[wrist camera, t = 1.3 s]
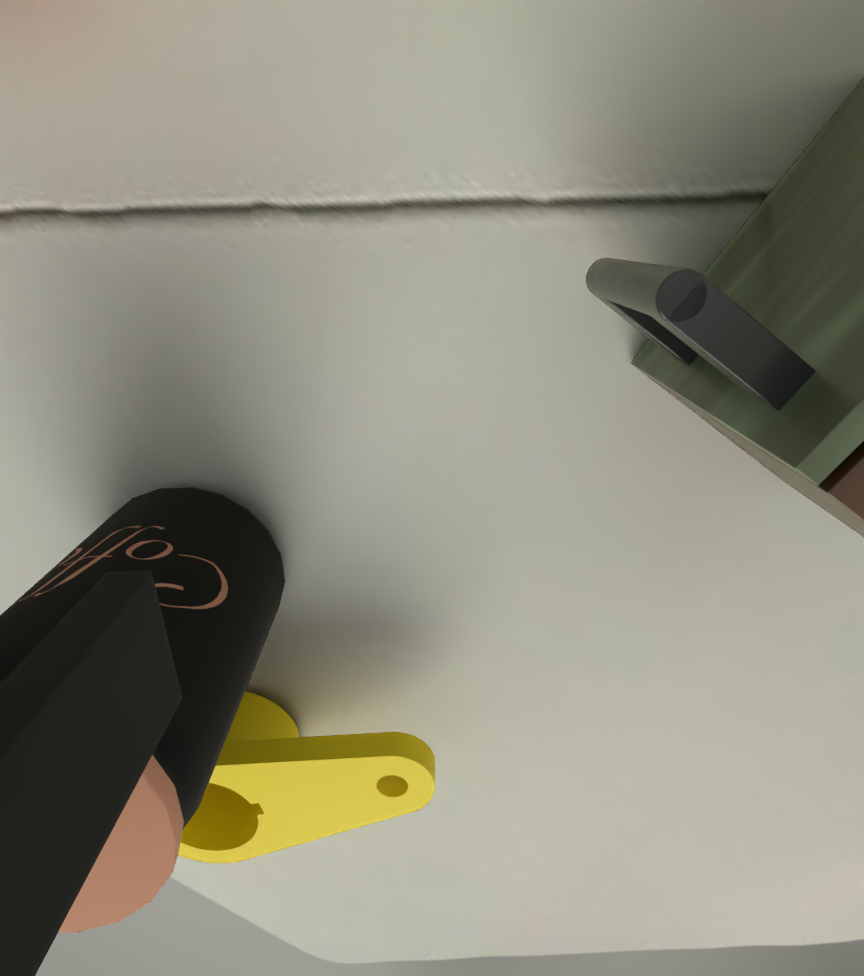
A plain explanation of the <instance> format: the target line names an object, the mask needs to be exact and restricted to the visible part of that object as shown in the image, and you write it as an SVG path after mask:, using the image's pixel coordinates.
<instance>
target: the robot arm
mask: <svg viewBox="0 0 864 976" xmlns="http://www.w3.org/2000/svg"><path fill="white" fill-rule="evenodd" d="M181 700H182V694H181V690H180V686H179V682H178V678H177V674H176V669H175V665H174V661H173V657H172V653H171V649H170V645H169V641H168V636H167V632H166V628H165V624H164V620H163V616H162V612H161V608H160V604H159V599H158V595H157V591H156V587H155V583H154V579H153V575H152V571H151V570H146V571H117V572H106V573H105V574H104V575H103V576H102V578H101V579H100V580H99V581H98V582H97V583H96V584H95V585H94V586H93V587H92V588H91V589H90V590H89V591H88V592H87V593H86V594H85V595H84V596H83V597H82V598H81V600H80V601H79V602H78V603H77V604H76V605H75V606H74V607H73V608H72V609H71V610H70V611H69V612H68V613H67V614H66V615H65V616H64V617H63V618H62V619H61V620H60V622H59V623H58V624H57V625H56V626H55V627H54V628H53V629H52V630H51V631H50V632H49V633H48V634H47V635H46V636H45V637H44V638H43V639H42V640H41V641H40V642H39V644H38V645H37V646H36V647H35V648H34V649H33V650H32V651H31V652H30V653H29V654H28V655H27V656H26V657H25V658H24V659H23V660H22V661H21V662H20V663H19V664H18V666H17V667H16V668H15V669H14V670H13V671H12V672H11V673H10V674H9V675H8V676H7V677H6V678H5V679H4V680H3V681H2V682H1V683H0V976H35V974H36V973H37V971H38V969H39V967H40V965H41V963H42V961H43V959H44V957H45V956H46V954H47V952H48V950H49V948H50V946H51V944H52V942H53V940H54V939H55V937H56V935H57V933H58V931H59V929H60V927H61V926H62V924H63V922H64V920H65V918H66V916H67V914H68V912H69V911H70V909H71V907H72V905H73V903H74V901H75V899H76V897H77V896H78V894H79V892H80V890H81V888H82V886H83V884H84V882H85V881H86V879H87V877H88V875H89V873H90V871H91V869H92V867H93V865H94V864H95V862H96V860H97V858H98V856H99V854H100V852H101V850H102V849H103V847H104V845H105V843H106V841H107V839H108V837H109V835H110V834H111V832H112V830H113V828H114V826H115V824H116V822H117V820H118V818H119V817H120V815H121V813H122V811H123V809H124V807H125V805H126V803H127V802H128V800H129V798H130V796H131V794H132V792H133V790H134V788H135V787H136V785H137V783H138V781H139V779H140V777H141V775H142V773H143V772H144V770H145V768H146V766H147V764H148V762H149V760H150V758H151V756H152V755H153V753H154V751H155V749H156V747H157V745H158V743H159V741H160V740H161V738H162V736H163V734H164V732H165V730H166V728H167V726H168V725H169V723H170V721H171V719H172V717H173V715H174V713H175V711H176V710H177V708H178V706H179V704H180V702H181Z"/></svg>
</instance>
